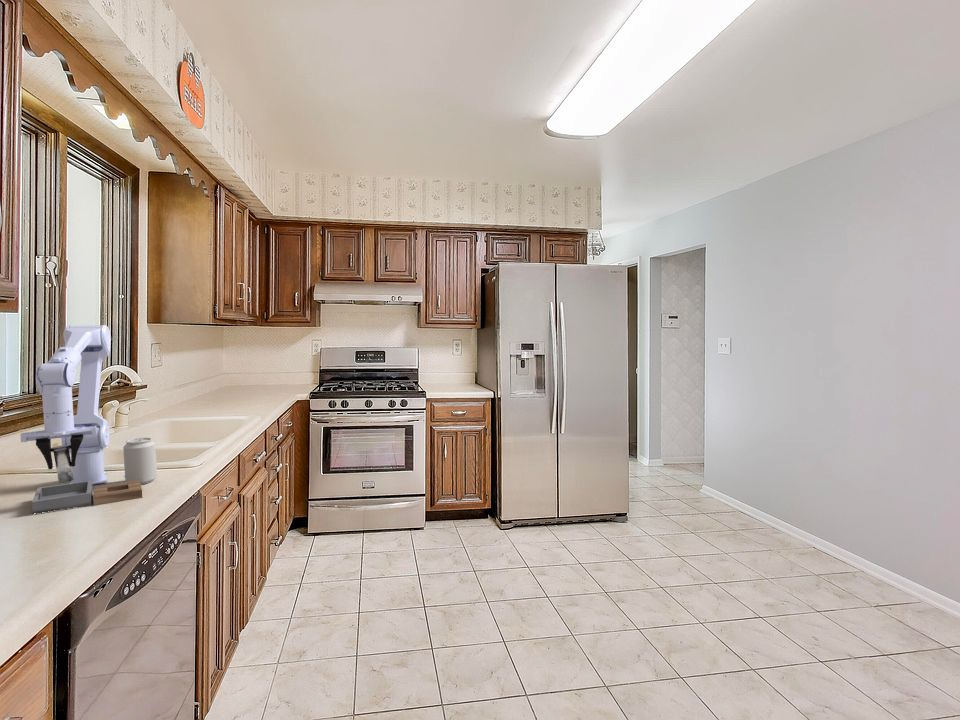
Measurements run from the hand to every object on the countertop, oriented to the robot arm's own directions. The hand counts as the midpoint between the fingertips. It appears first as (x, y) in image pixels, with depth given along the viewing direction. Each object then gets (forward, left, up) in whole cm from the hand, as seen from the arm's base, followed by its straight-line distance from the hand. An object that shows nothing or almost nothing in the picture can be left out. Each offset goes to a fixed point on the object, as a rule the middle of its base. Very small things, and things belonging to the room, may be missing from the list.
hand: (62, 467), depth 132 cm
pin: (0, +1, -4) cm, 4 cm away
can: (-9, +17, -9) cm, 21 cm away
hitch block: (+2, +11, -9) cm, 14 cm away
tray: (0, 0, -9) cm, 9 cm away
